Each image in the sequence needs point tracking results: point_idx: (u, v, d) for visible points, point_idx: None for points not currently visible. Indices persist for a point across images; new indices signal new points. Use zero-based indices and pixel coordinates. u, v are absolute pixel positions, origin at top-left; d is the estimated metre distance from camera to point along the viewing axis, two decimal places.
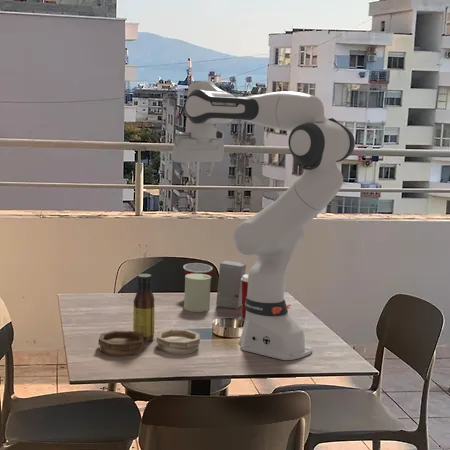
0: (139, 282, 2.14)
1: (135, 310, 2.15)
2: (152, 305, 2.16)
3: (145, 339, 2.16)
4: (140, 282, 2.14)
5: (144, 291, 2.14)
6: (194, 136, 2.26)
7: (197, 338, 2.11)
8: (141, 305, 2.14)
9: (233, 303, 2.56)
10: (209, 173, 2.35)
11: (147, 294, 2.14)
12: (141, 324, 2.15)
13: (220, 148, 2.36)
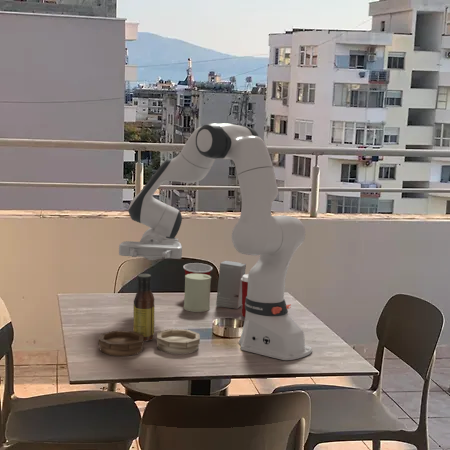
0: (139, 282, 2.14)
1: (135, 310, 2.15)
2: (152, 305, 2.16)
3: (145, 339, 2.16)
4: (140, 282, 2.14)
5: (144, 291, 2.14)
6: (140, 240, 2.39)
7: (197, 338, 2.11)
8: (141, 305, 2.14)
9: (233, 303, 2.56)
10: (164, 252, 2.28)
11: (147, 294, 2.14)
12: (141, 324, 2.15)
13: (176, 244, 2.36)
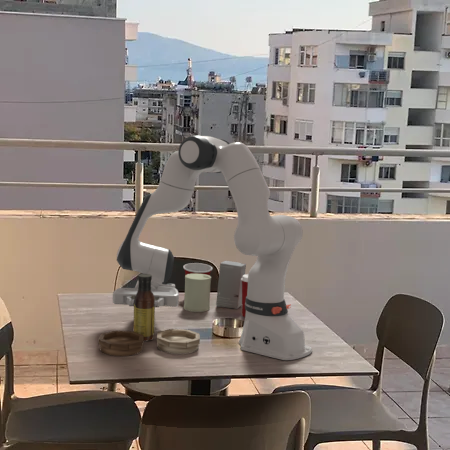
0: (139, 282, 2.14)
1: (135, 310, 2.15)
2: (152, 305, 2.16)
3: (145, 339, 2.16)
4: (141, 282, 2.14)
5: (144, 291, 2.14)
6: (135, 287, 2.28)
7: (197, 338, 2.11)
8: (141, 305, 2.14)
9: (233, 303, 2.56)
10: (156, 301, 2.17)
11: (147, 294, 2.14)
12: (141, 324, 2.15)
13: (172, 291, 2.25)
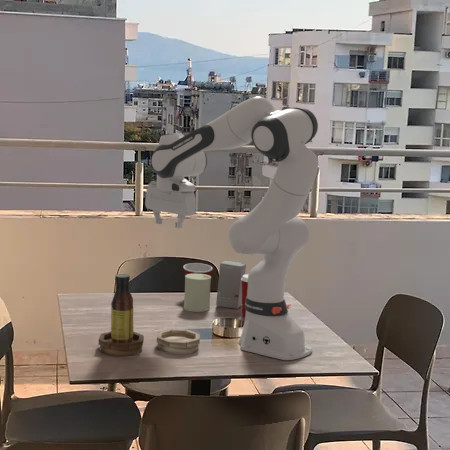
0: (117, 283, 2.04)
1: (113, 312, 2.05)
2: (131, 307, 2.05)
3: (123, 342, 2.06)
4: (118, 283, 2.04)
5: (122, 293, 2.04)
6: None
7: (197, 338, 2.11)
8: (118, 307, 2.04)
9: (233, 303, 2.56)
10: (176, 225, 2.33)
11: (125, 295, 2.04)
12: (119, 327, 2.05)
13: (182, 202, 2.28)
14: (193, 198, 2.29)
